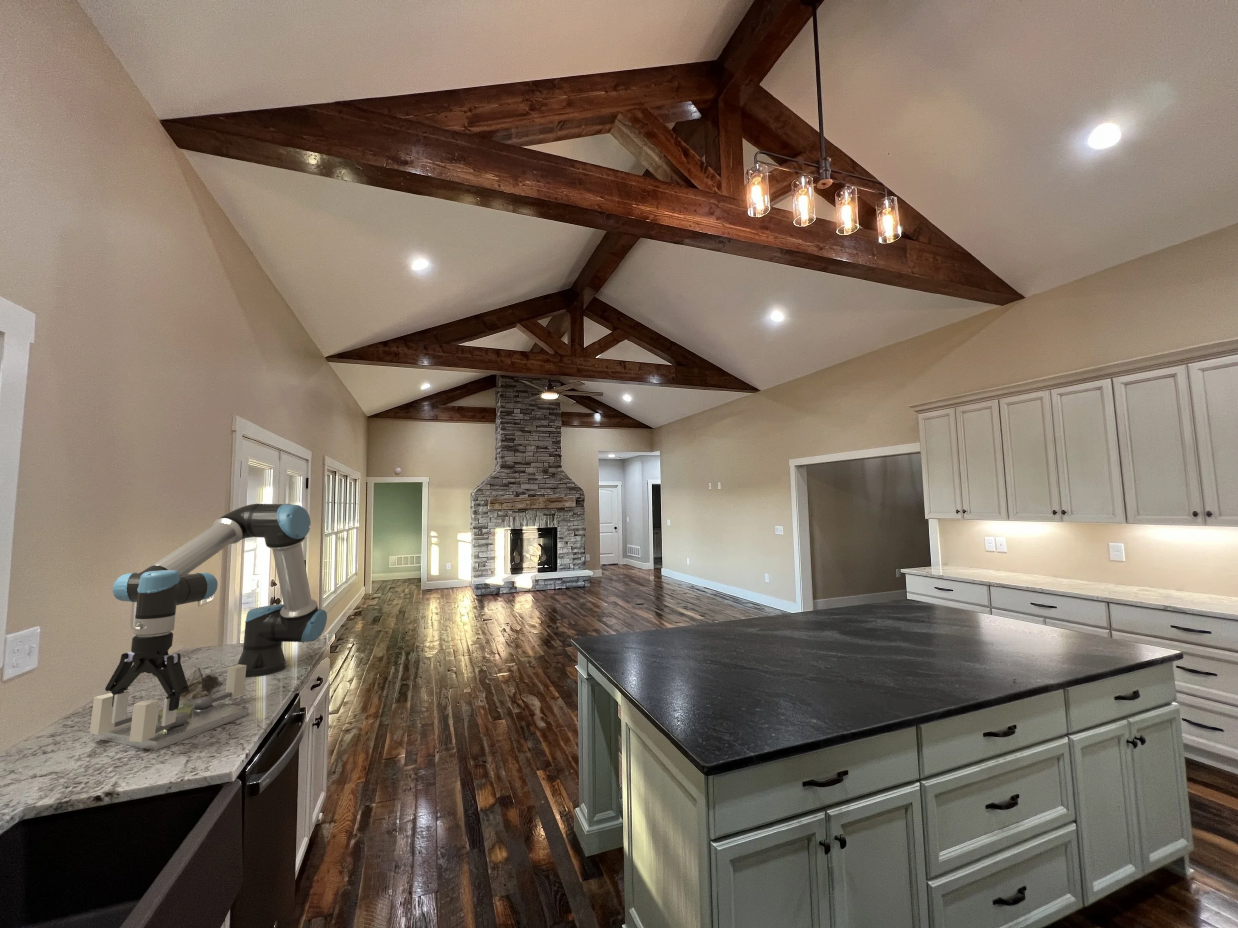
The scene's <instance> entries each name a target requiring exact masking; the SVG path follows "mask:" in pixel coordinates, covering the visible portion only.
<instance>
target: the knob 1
mask: <svg viewBox="0 0 1238 928" xmlns="http://www.w3.org/2000/svg"><path fill="white" fill-rule="evenodd" d="M112 700H113V694H112V693H111V692H108V693H104V694H102V695H97V696H93V704H92V712H91V719H90V726H89V727H90V728H89V734H91V735H92V734H97V735H99V734H102V733H105V732H108V731H111V730H114V727H117V726H120V725H123V724H126V723H130V722H132V715H133V714H129V715H126V719H123V720H120V721H118V722H115V723H111V721H112V713H113V707H112Z"/></svg>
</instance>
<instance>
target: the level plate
mask: <svg viewBox="0 0 1238 928" xmlns="http://www.w3.org/2000/svg"><path fill="white" fill-rule="evenodd" d="M194 700H195V699H192V698H190V699H187V700H183V701H180V702H179V707H178V709H177V711H176V714H177V713H188V719H187V723H185V724H183V725H179V726H174V727H169V728H167V729H164V730H162V731H160V732H158V733H155V736H154V737H152V738H150V739H147V740H145V741H143V742H133V741H129V740H130V732H131V723H132V722H130V723H126V724H123V725H120V726H117V727H114V730H111V731H108V732H105V733H102V734H99V735H97V734H92V733H91V739H98V740H103V741H107V742H111V743H112V742H113V743H117V744H121V745H126V746H131V747H136V748H140V749H141V748H142V749H145V750H146V749H147V750H151V751H158V750H160V749H163V748H166V747H168V746H170V745H173V744H176V743H179V742H181V741H184V740H187V739H189V738H192V737H194V736H196V735H197V736H198V735H199V734H202V733H205V732H207V731H211V730H213V729H215V728H218V727H221V726H222V725H225V724H227V723H231V722H233V721H235V720H238V719H241V718H243V717H246V716H248V715H249V707H247V706H242V705H241V706H240V705H235V704H229V703H223V702H218V701H217V702H214V703H212V705H211V706H210V707H207V708H202V709H194ZM163 709H164V706H161V707H158V713H157V721H156V725H158V724H160V723H162V718H163Z"/></svg>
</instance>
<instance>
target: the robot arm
mask: <svg viewBox="0 0 1238 928" xmlns="http://www.w3.org/2000/svg"><path fill="white" fill-rule="evenodd" d="M311 525H312V524H311V517H310V514H309V512H308V510H306V508H304V507H303V506H301V505H299V504H291V503H283V504H282V503H252V504H251V503H250V504H247V505H244V506H241V507H238V508H236V509H233V510H232V511H230V512H228V513H226V514H224V515H222V516H221V517H219V518H217V519H215V521H213V523H212V525H211V527H209V528H208V529H206V530H204V531H203V532H201V533H200V534H198V535H197V536H195V537H193V538H192V539H191V540H189V541H188V542H186V543H185V544H183V545H181V546H179V547H178V548H176V549H175V550H174V551H172V552H170V553H168V555H166V556H164V557H162V558H161V559H160V560H158V561H156V562H154V563H153V564H151V565H150V566H149V567H147V568H145V569H144V570H142V571H140V572H138V573H137V572H130V573H125V574H122V575H120V576H119V577H118V578H117V579H115V581H114V583H113V585H112V594H113V596H114V598H115V599H116V600H118V601H120V602H130V603H136V608H135V615H134V616H135V617H134V625H133V634H134V635H135V636H133V637H132V640H131V647H130V651H129V652H123V653H122V654H121V656H120V659H119V663H118V665H117V666H116V669H115V670H114V672H113V674H112V676H111V677H110V679H109V681H108V683H107V684H106V686H105V689H104V691H106V692H110V693H112V694H113V700H112V707H113V713H112V721H111V723H115V722H118V721H120V720H123V719H126V716H127V713H128V712H127V711H128V705H129V697H130V696H129V694H130V691H129V687H130V686H131V685H132V683H134V682H135V680H136V679H137V678H138V677H140V675H141V674H144V673H146V674H152V675H153V676H154V677H156V679H157V680H158V682H159V683H160V685H161V686H162V688H163V690H164V692H165V693H166V695H167V696H166V697H165V698H164V700H163V707H164V709H163V718H162V726H166V725H168V724H171V723H173V722H175V720H176V711H177V709H178V707H179V700H180V695H181V694H183V693H186V692H188V691H189V687H188V684H187V677H186V675H185V672H184V668H183V665H182V663H181V662H182V661H181V659H182V658H181V656H182V655H181V653H180V652H177V653H175V654H169V650H170V648H171V647H172V646H173V641H174V632H173V631H174V629H175V623H176V621H175V620H176V613H177V606H180V605H184V604H185V605H186V604H190V603H195V602H201V601H203V600H208V599H209V598H212V597H213V596H214V594H216V592H217V590H218V586H219V585H218V580H217V578H216V576H215V575H214V574H212V573H209V572H196V573H191V572H192V571H194V570H195V569H197V568H198V567H200V566H201V565H202V564H204V563H205V562H207V561H208V560H209V559H211V558H212V557H213V556H215V555H216V554H218V553H219V552H220V551H222V550H223V549H225V548H226V547H227V546H229V545H232V544H237V543H239V542H240V541H242V540H245V539H248V538H261V539H264V541H265V542H264V543H265V546H266V548H268V549H271V550H272V554H273V558H274V564H275V569H276V573H277V578H278V584H279V587H280V588H279V589H280V594H281V598H282V603H283V604H282V603H281V604H279V603H278V604H272V605H264V606H259V607H256V608H252V609H250V610H249V611H247V613H246V618H245V621H244V623H245V624H244V636H243V637H244V638H243V649H242V653H241V654H240V656H239V657H240V658H239V659H238V661H237V664H236V665H238V664H240V665H246V676H245V678H246V677H248V678H249V677H258V676H259V677H260V676H261V677H262V676H266V675H271V674H274V673H275V674H276V673H278V672H280V671H283V670H284V669H286V659H285V655H284V650H283V648H282V647H283V646H282V645H283V643H312V642H316V640H318V639H319V638H320V637H321V636H322V635H323V633H324V630H325V627H326V625H327V621H328V614H327V611H326V610H325V609H322V608H320V609H319V607H318V606H319V605H318V601H316V600H315V599H313V598H312V595H311V590H310V589H311V588H310V585H309V584H310V583H309V578H308V573H307V569H306V568H307V567H306V564H305V563H306V562H305V557H304V551H303V546H302V543H303V542H304V541H305V539H306V536H307V535H308V533H309V532H310V529H311V528H310V526H311ZM181 688H182V689H181Z"/></svg>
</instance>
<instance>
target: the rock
mask: <svg viewBox="0 0 1238 928" xmlns="http://www.w3.org/2000/svg"><path fill="white" fill-rule="evenodd" d="M186 681H187V684H188V687H189V691H188V692H186V693H183V694H181V695H180V700H179V702H180V701H183V700H187V699H190V698H192V699H197V698H201V697H207V696H210V694H209V693H210V692H212V691H213V690H214V689H216V688H217V689H218V687H220V685H221V684H222V683H221V680H220V678H219V677H218V676H216V675H211V674H204V675H203V673H202V671H201V668H200V667H196V668H194V669H193V670H192V671H191V672H190V674H189V675H188V677H187V678H186ZM181 689H182V688H181Z"/></svg>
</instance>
